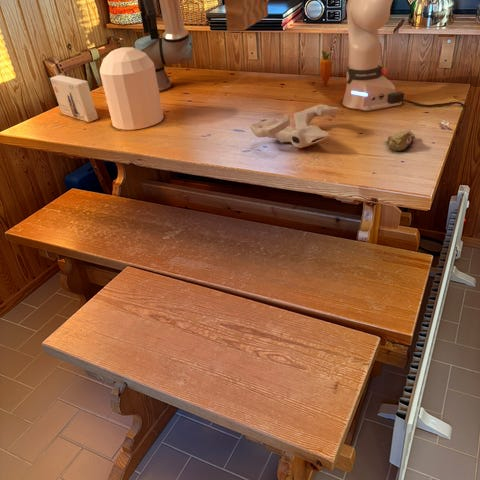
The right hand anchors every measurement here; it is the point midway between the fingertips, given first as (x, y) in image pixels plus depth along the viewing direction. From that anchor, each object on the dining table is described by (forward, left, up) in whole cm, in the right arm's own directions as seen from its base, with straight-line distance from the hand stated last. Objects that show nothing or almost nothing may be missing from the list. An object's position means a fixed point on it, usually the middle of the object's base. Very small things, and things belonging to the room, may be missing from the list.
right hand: (256, 2), depth 178 cm
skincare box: (+79, 0, -37) cm, 87 cm away
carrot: (-29, -7, -37) cm, 47 cm away
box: (+4, +9, -5) cm, 11 cm away
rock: (-38, +63, -37) cm, 82 cm away
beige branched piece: (-7, +54, -37) cm, 66 cm away
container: (+52, +13, -37) cm, 65 cm away
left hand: (+39, +27, -3) cm, 48 cm away
